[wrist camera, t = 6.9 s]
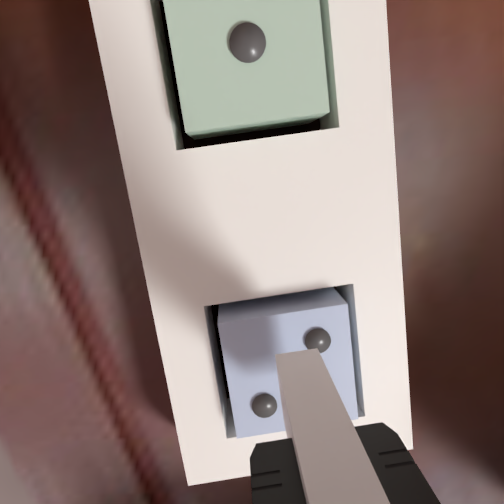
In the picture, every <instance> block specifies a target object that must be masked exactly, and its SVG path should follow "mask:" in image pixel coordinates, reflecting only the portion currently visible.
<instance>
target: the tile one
mask: <svg viewBox="0 0 504 504" xmlns="http://www.w3.org/2000/svg"><path fill="white" fill-rule="evenodd" d="M163 3H164V9H165V15H166V21H167V27H168V33H169V39H170V45H171V51H172V57H173V63H174V69H175V74H176V80H177V86H178V92H179V98H180V104H181V110H182V116H183V122H184V128H185V133H187V134H188V135H189V136H190V137H191V138H193V139H194V140H196V139H203V138H210V137H217V136H224V135H231V134H238V133H246V132H253V131H260V130H267V129H274V128H281V127H288V126H295V125H302V124H309V123H311V122H313V121H315V120H317V119H318V118H320V117H322V116H324V115H326V114H327V113H329V112H330V109H329V98H328V87H327V76H326V66H325V55H324V44H323V33H322V23H321V12H320V1H319V0H163Z"/></svg>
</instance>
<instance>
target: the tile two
mask: <svg viewBox="0 0 504 504" xmlns="http://www.w3.org/2000/svg"><path fill="white" fill-rule="evenodd" d="M218 329H219V335H220V341H221V347H222V353H223V359H224V365H225V371H226V377H227V383H228V389H229V394H230V400H231V406H232V412H233V418H234V424H235V430H236V436H237V439H238V438H244V437H250V436H257V435H263V434H269V433H275V432H281V431H286V429H285V424H284V418H283V410H282V403H281V396H280V389H279V381H278V374H277V367H276V359H275V354H282V353H289V352H295V351H302V350H308V349H315V348H318V350H319V353H320V355H321V357H322V359H323V361H324V363H325V365H326V368H327V370H328V372H329V374H330V376H331V378H332V380H333V383H334V385H335V387H336V389H337V391H338V393H339V395H340V397H341V400H342V402H343V404H344V406H345V408H346V410H347V412H348V415H349V417H350V419H351V420H356V419H358V409H357V398H356V388H355V377H354V366H353V355H352V345H351V334H350V323H349V312H348V304H347V302H346V301H345V300H344V299H343V298H342V297H341V296H340V294H339V293H338V292H337V291H336V290H335V289H334V287H327V288H321V289H314V290H308V291H301V292H294V293H288V294H281V295H275V296H268V297H262V298H255V299H248V300H242V301H235V302H229V303H222V304H219V311H218Z"/></svg>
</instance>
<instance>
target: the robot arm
mask: <svg viewBox="0 0 504 504" xmlns="http://www.w3.org/2000/svg"><path fill="white" fill-rule="evenodd" d="M275 359H276V367H277V374H278V381H279V389H280V396H281V403H282V410H283V418H284V424H285V429H286V434H287V439H281V440H275V441H268V442H262V443H256V445H255V447H254V449H253V452H252V454H251V456H250V473H251V488H252V503H253V504H441V503H440V502H439V500H438V499H437V497H436V495H435V494H434V492H433V490H432V489H431V487H430V486H429V484H428V482H427V481H426V479H425V477H424V476H423V474H422V473H421V471H420V469H419V468H418V466H417V464H415V462H414V460H413V458H412V456H411V455H410V453H409V451H407V448H406V447H405V445H404V443H403V442H402V440H401V438H400V437H399V435H398V434H397V433H396V432H395V431H393V430H392V429H391V428H390V427H388V426H387V425H386V424H384V423H383V422H380V423H374V424H368V425H361V426H355V427H354V425H353V423H352V421H351V419H350V417H349V415H348V412H347V410H346V408H345V406H344V404H343V402H342V400H341V397H340V395H339V393H338V391H337V389H336V387H335V385H334V383H333V380H332V378H331V376H330V374H329V372H328V370H327V368H326V365H325V363H324V361H323V359H322V357H321V355H320V353H319V350H318V348H315V349H308V350H302V351H295V352H289V353H282V354H275Z"/></svg>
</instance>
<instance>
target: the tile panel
mask: <svg viewBox="0 0 504 504" xmlns="http://www.w3.org/2000/svg"><path fill="white" fill-rule="evenodd" d="M159 1H163V0H89V5H90V10H91V15H92V19H93V24H94V29H95V34H96V39H97V44H98V49H99V54H100V58H101V63H102V68H103V73H104V78H105V83H106V88H107V93H108V98H109V102H110V107H111V112H112V117H113V122H114V127H115V132H116V137H117V141H118V146H119V151H120V156H121V161H122V166H123V171H124V176H125V180H126V185H127V190H128V195H129V200H130V205H131V210H132V215H133V219H134V224H135V229H136V234H137V239H138V244H139V249H140V254H141V259H142V263H143V268H144V273H145V278H146V283H147V288H148V293H149V298H150V302H151V307H152V312H153V317H154V322H155V327H156V332H157V337H158V341H159V346H160V351H161V356H162V361H163V366H164V371H165V376H166V380H167V385H168V390H169V395H170V400H171V405H172V410H173V415H174V419H175V424H176V429H177V434H178V439H179V444H180V449H181V454H182V459H183V463H184V468H185V473H186V478H187V483H188V486H191V485H197V484H203V483H209V482H215V481H221V480H227V479H233V478H239V477H245V476H251V473H250V456H251V454H252V452H253V449H254V447H255V445H256V443H262V442H268V441H275V440H281V439H287V434H286V431H281V432H275V433H269V434H263V435H257V436H250V437H244V438H238V439H237V436H236V430H235V424H234V418H233V412H232V406H231V400H230V398H228V399H227V396H226V390H225V384H224V378H223V372H222V367H221V361H220V355H219V349H218V343H217V337H216V331H215V326H214V320H213V314H212V308H211V305H216V304H222V303H229V302H235V301H242V300H248V299H255V298H262V297H268V296H275V295H281V294H288V293H294V292H301V291H308V290H314V289H321V288H327V287H334V286H336V291H337V292H338V293H339V294H340V296H341V297H342V298H343V299H344V300H345V301H346V302H347V304H348V312H349V323H350V334H351V345H352V355H353V366H354V377H355V388H356V398H357V409H358V419H356V420H351V421H352V423H353V425H354V427H355V426H361V425H368V424H374V423H380V422H383V423H384V424H386V425H387V426H388V427H390V428H391V429H392V430H393V431H395V432H396V433H397V434H398V435H399V437H400V438H401V440H402V442H403V443H404V445H405V447H406V448H407V450H410V449H413V440H412V423H411V407H410V390H409V374H408V357H407V341H406V324H405V308H404V291H403V275H402V258H401V242H400V226H399V209H398V193H397V176H396V160H395V143H394V127H393V110H392V94H391V77H390V61H389V44H388V28H387V11H386V0H319V1H320V12H321V23H322V33H323V44H324V55H325V66H326V76H327V87H328V98H329V109H330V112H329V113H327V114H326V115H324V116H322V117H320V118H319V120H320V130H318V131H311V132H303V133H296V134H289V135H282V136H275V137H268V138H261V139H254V140H247V141H240V142H233V143H226V144H219V145H212V146H205V147H197V148H190V149H184V144H183V138H182V132H181V127H180V121H179V115H178V109H177V103H176V97H175V91H174V86H173V80H172V74H171V68H170V62H169V56H168V50H167V45H166V39H165V33H164V27H163V21H162V15H161V10H160V4H159Z"/></svg>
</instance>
